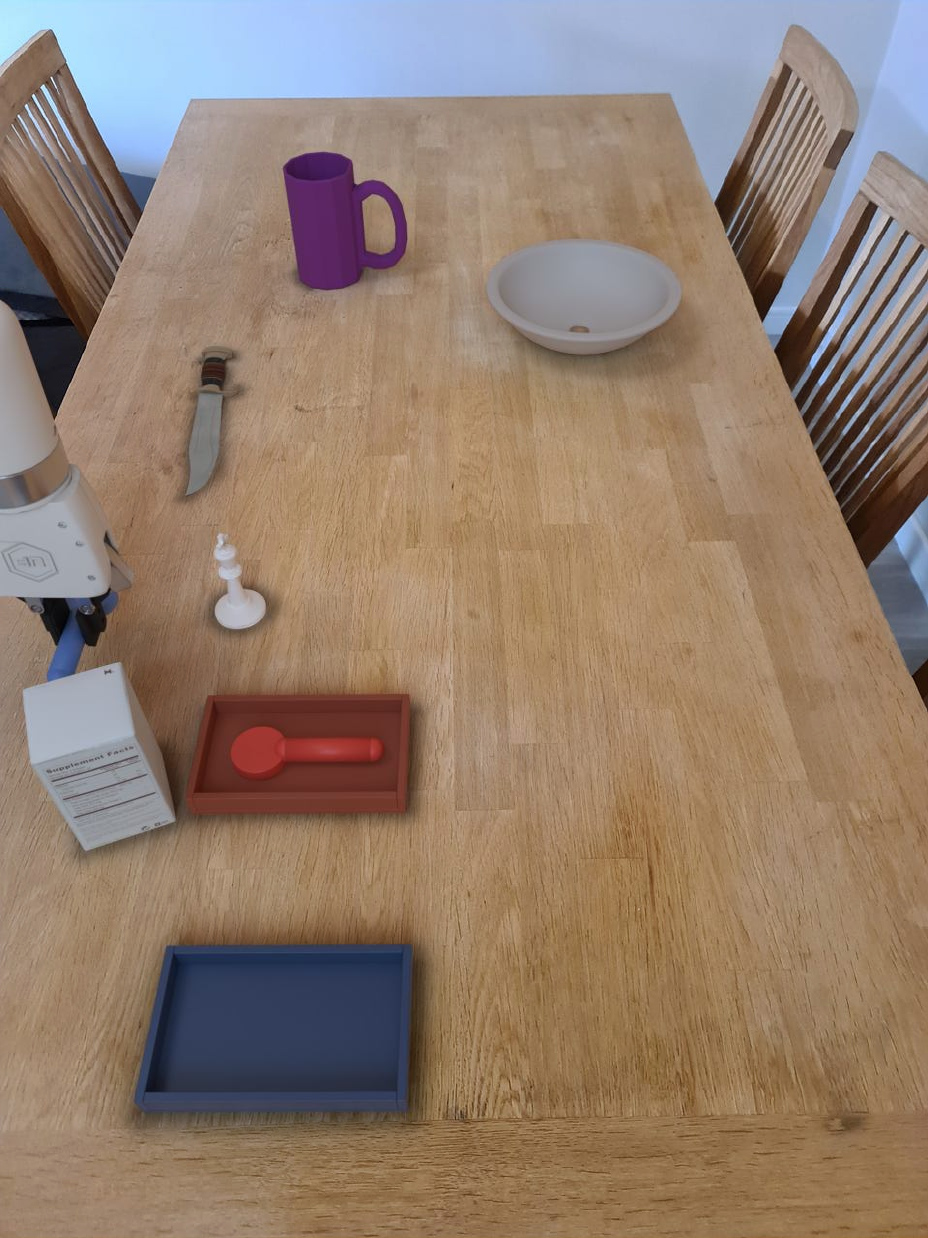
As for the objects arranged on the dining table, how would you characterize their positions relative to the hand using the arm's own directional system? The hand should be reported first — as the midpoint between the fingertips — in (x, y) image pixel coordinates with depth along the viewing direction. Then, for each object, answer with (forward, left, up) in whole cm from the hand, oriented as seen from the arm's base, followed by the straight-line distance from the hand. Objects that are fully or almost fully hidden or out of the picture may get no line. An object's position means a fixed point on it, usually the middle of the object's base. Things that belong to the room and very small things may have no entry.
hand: (80, 633), depth 84 cm
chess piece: (+12, +7, -6) cm, 15 cm away
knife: (+4, +37, -6) cm, 38 cm away
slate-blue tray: (+21, -32, -5) cm, 38 cm away
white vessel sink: (+48, +55, -6) cm, 73 cm away
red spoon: (+20, -10, -5) cm, 23 cm away
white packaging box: (+6, -14, -6) cm, 16 cm away
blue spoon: (0, 0, 0) cm, 0 cm away
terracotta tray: (+20, -10, -5) cm, 23 cm away
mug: (+18, +70, -6) cm, 73 cm away
